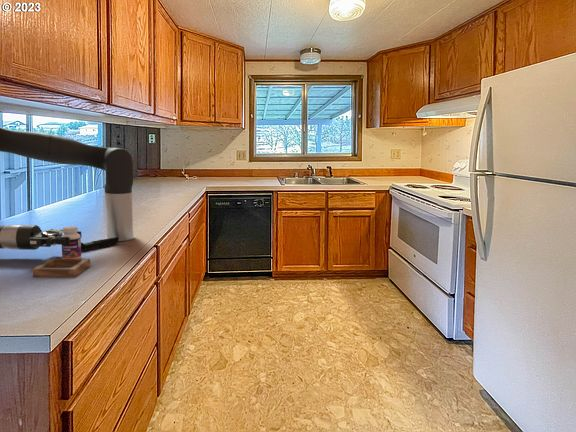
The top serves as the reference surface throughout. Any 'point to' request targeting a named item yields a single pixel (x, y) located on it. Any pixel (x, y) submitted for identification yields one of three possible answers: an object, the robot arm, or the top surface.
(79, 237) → the pill bottle
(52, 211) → the top surface
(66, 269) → the socket block
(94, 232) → the top surface
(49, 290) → the top surface
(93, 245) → the electric trimmer
